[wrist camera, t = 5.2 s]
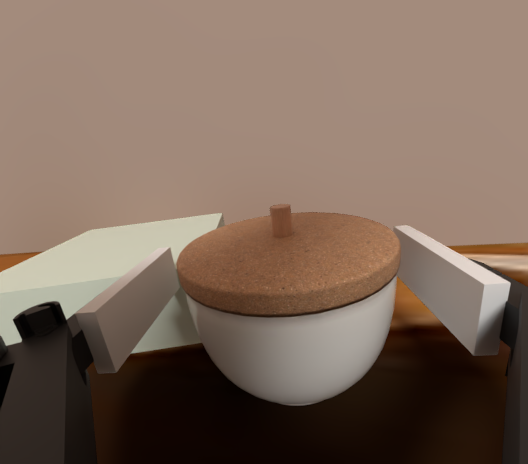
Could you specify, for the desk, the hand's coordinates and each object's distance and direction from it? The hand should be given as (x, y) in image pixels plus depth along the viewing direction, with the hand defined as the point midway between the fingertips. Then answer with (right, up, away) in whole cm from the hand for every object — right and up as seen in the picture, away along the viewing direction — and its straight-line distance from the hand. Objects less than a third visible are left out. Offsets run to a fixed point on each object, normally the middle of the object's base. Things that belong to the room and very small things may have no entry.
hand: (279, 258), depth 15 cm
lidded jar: (+1, -6, 0) cm, 6 cm away
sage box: (-13, -5, +10) cm, 17 cm away
